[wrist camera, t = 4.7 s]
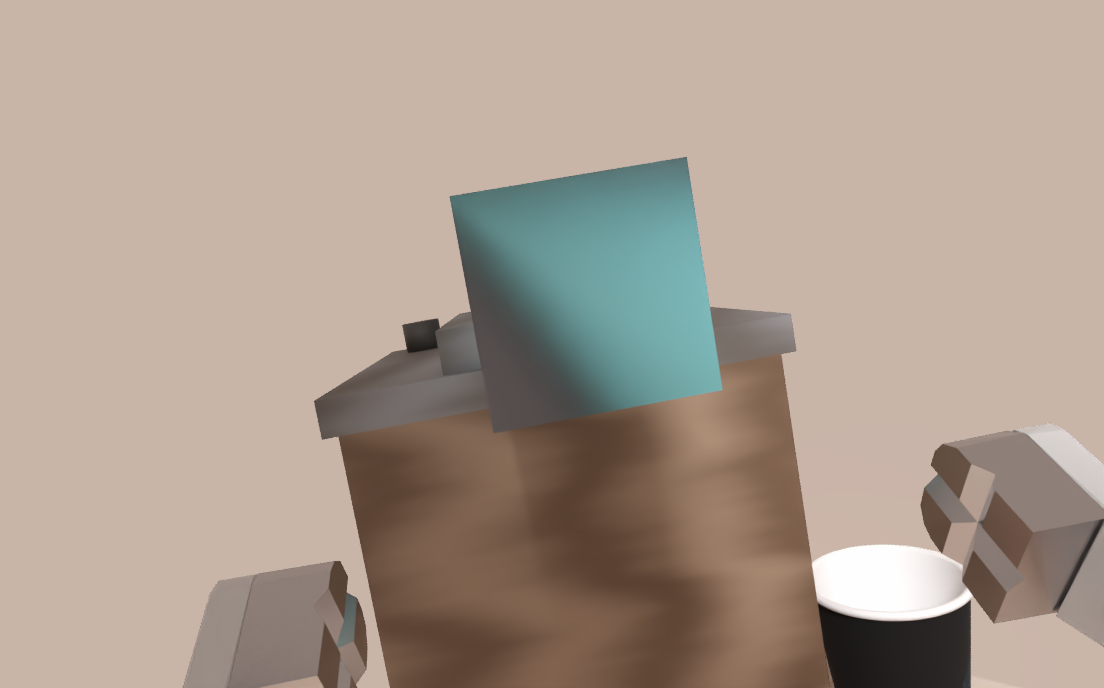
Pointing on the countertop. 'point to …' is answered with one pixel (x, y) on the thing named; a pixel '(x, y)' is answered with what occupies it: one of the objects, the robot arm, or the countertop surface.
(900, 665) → the dixie cup
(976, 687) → the countertop surface
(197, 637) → the robot arm
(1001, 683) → the countertop surface
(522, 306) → the long teal bar
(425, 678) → the brown boxy piece
